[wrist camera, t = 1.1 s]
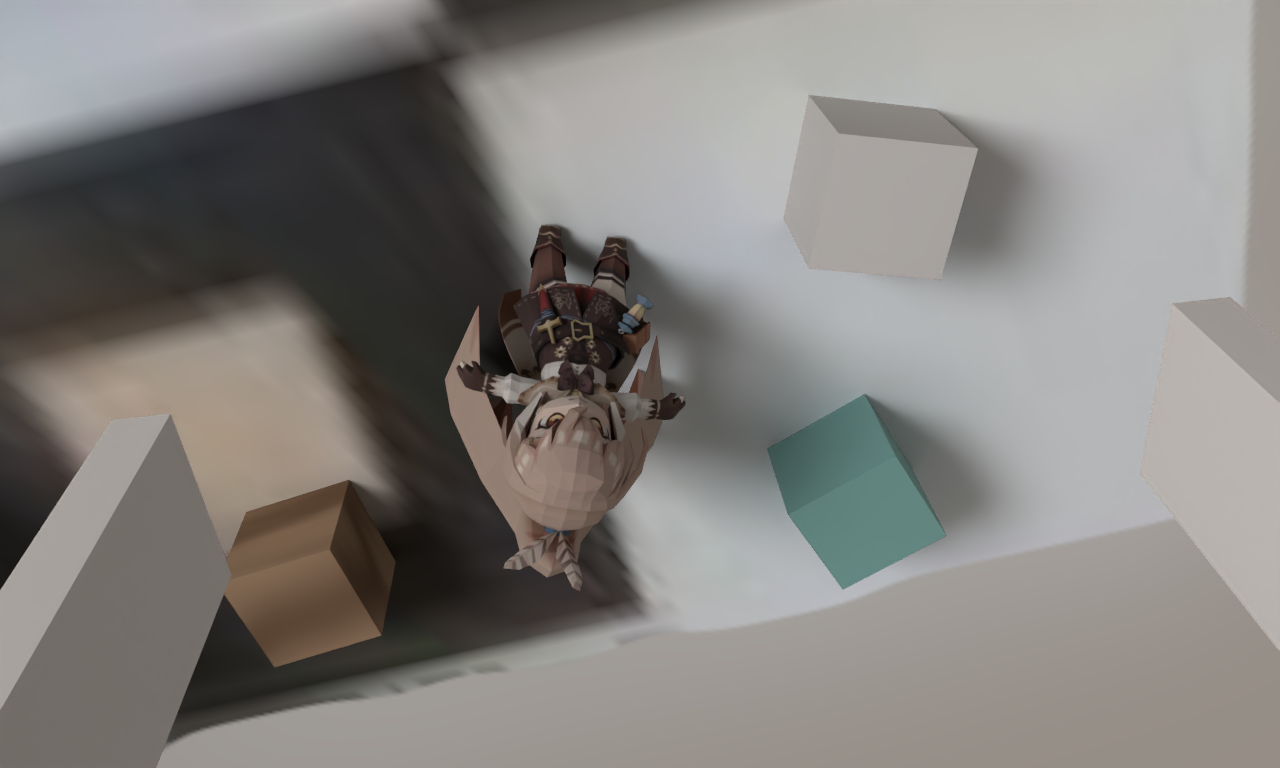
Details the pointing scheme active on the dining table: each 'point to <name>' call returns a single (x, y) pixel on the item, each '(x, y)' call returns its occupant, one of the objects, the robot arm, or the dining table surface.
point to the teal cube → (853, 493)
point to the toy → (561, 404)
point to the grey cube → (877, 187)
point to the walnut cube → (310, 574)
